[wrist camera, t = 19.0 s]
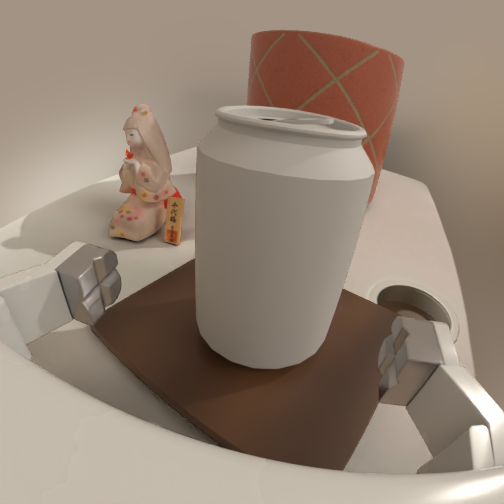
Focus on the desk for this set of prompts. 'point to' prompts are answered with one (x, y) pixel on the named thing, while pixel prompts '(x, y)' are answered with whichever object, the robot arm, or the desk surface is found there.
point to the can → (275, 230)
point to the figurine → (147, 183)
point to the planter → (328, 82)
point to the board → (254, 375)
